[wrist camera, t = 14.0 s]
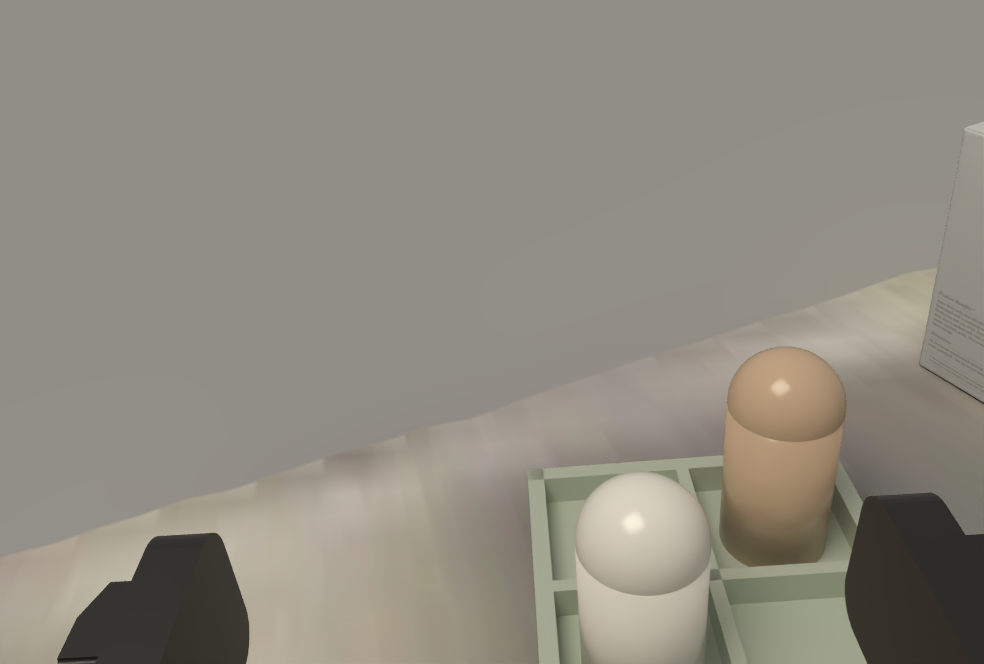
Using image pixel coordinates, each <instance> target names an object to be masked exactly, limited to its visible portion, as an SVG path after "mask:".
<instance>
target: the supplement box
mask: <svg viewBox="0 0 984 664" xmlns="http://www.w3.org/2000/svg"><path fill="white" fill-rule="evenodd" d="M919 364H920V365H921V366H923V367H925V368H926V369H928V370H930V371H931V372H933V373H935V374H936V375H938V376H940V377H941V378H943V379H945V380H947V381H948V382H950V383H952V384H953V385H955V386H957V387H958V388H960V389H962V390H963V391H965V392H967V393H968V394H970V395H972V396H973V397H975V398H977V399H978V400H980V401H982V402H983V403H984V122H981V123H979V124H975V125H972V126H969V127H967V128H965V129H964V131H963V139H962V145H961V150H960V156H959V161H958V167H957V172H956V177H955V182H954V187H953V193H952V197H951V203H950V208H949V213H948V218H947V223H946V228H945V233H944V239H943V244H942V249H941V254H940V260H939V265H938V270H937V275H936V280H935V285H934V290H933V295H932V300H931V305H930V311H929V316H928V321H927V326H926V332H925V337H924V342H923V346H922V351H921V356H920V361H919Z"/></svg>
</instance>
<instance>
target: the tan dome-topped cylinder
mask: <svg viewBox="0 0 984 664" xmlns="http://www.w3.org/2000/svg"><path fill="white" fill-rule="evenodd" d="M846 406H847V405H846V394H845V390H844V387H843V384H842V382H841V380H840V378H839V376H838V375H837V373H836V372H835V370H834V369H833V368H832V367H831V366H830V365H829V364H828V363H827V362H826V361H825V360H824V359H822V358H821V357H819V356H818V355H816V354H814V353H812V352H810V351H807V350H804V349H801V348H796V347H774V348H770V349H766V350H764V351H761V352H759V353H757V354H755V355H753V356H752V357H750V358H749V359H748V360H746V361H745V362H744V363H743V364H742V365H741V366H740V368H739V369H738V370H737V372H736V373H735V375H734V377H733V378H732V381H731V383H730V386H729V390H728V397H727V410H726V425H725V441H724V457H723V473H722V488H721V504H720V520H719V536H720V539H721V542H722V544H723V546H724V547H725V549H726V550H727V551H728V553H729V554H730V555H732V556H733V557H734V558H735V559H736V560H738V561H739V562H741V563H742V564H744V565H746V566H748V567H759V566H774V565H788V564H803V563H817V562H818V561H819V559H820V558H821V557H822V555H823V553H824V549H825V544H826V538H827V531H828V525H829V518H830V512H831V506H832V499H833V493H834V486H835V480H836V473H837V467H838V461H839V454H840V448H841V441H842V435H843V428H844V422H845V416H846Z"/></svg>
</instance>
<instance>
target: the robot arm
mask: <svg viewBox="0 0 984 664" xmlns="http://www.w3.org/2000/svg"><path fill="white" fill-rule="evenodd" d="M845 602H846V609H847V614H848V618H849V621H850V625H851V628H852V630H853V633H854V635H855V637H856V640H857V642H858V644H859V646H860V649H861V651H862V653H863V655H864V658H865V660H866V662H867V664H984V534H978V535H965V534H964V532H963V531H962V529H961V527H960V526H959V524H958V523H957V521H956V520H955V518H954V517H953V515H952V514H951V512H950V511H949V509H948V507H947V506H946V504H945V503H944V502H943V500H942V499H941V498H940V497H939V496H937V495H936V494H934V493H918V494H901V495H884V496H869V497H867V498H866V499H865V501H864V503H863V505H862V508H861V512H860V517H859V521H858V525H857V530H856V534H855V538H854V543H853V547H852V552H851V556H850V560H849V565H848V569H847V573H846V578H845ZM248 648H249V621H248V615H247V610H246V607H245V604H244V601H243V598H242V595H241V592H240V590H239V587H238V584H237V581H236V578H235V575H234V572H233V569H232V566H231V563H230V560H229V557H228V555H227V552H226V549H225V546H224V543H223V541H222V539H221V537H220V536H219V535H218V534H217V533H205V534H188V535H171V536H157V537H154V538H153V539H152V540H151V541H150V542H149V544H148V545H147V547H146V549H145V551H144V553H143V556H142V558H141V560H140V563H139V565H138V567H137V569H136V572H135V574H134V576H133V578H132V581H124V582H110V583H109V584H108V585H107V586H106V588H105V589H104V590H103V591H102V592H101V593H100V594H99V595H98V596H97V597H96V598H95V599H94V600H93V601H92V602H91V604H90V605H89V606H88V607H87V608H86V609H85V610H84V611H83V612H82V613H81V614H80V615H79V616H78V617H77V619H76V621H75V623H74V625H73V627H72V629H71V631H70V633H69V635H68V637H67V640H66V642H65V644H64V646H63V648H62V650H61V652H60V654H59V656H58V658H57V659H58V664H246V661H247V656H248Z"/></svg>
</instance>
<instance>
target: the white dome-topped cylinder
mask: <svg viewBox="0 0 984 664" xmlns="http://www.w3.org/2000/svg"><path fill="white" fill-rule="evenodd" d="M575 557H576V575H577V593H578V611H579V630H580V648H581V664H704V661H705V644H706V628H707V612H708V596H709V580H710V563H711V532H710V528H709V523H708V520H707V518H706V515H705V513H704V511H703V509H702V507H701V506H700V504H699V503H698V501H697V500H696V498H695V497H694V496H693V495H692V494H691V493H690V492H689V491H688V490H687V489H686V488H685V487H684V486H682V485H681V484H679V483H678V482H676V481H674V480H673V479H671V478H669V477H666V476H664V475H661V474H657V473H653V472H644V471H636V472H628V473H623V474H620V475H617V476H614V477H612V478H610V479H609V480H607V481H605V482H603V483H602V484H601V485H599V486H598V487H597V488H596V489H595V490H594V491H593V492H592V493H591V494H590V495H589V497H588V498H587V499H586V501H585V502H584V504H583V506H582V508H581V510H580V512H579V515H578V518H577V522H576V527H575Z"/></svg>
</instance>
